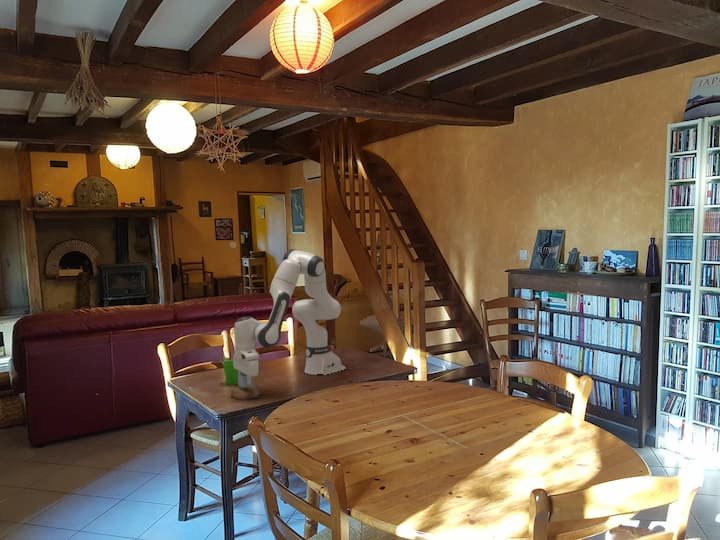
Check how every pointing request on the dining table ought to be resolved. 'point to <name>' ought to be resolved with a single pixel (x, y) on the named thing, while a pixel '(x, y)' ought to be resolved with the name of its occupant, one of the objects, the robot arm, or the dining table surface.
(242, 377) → the cube
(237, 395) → the trivet
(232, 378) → the cup
